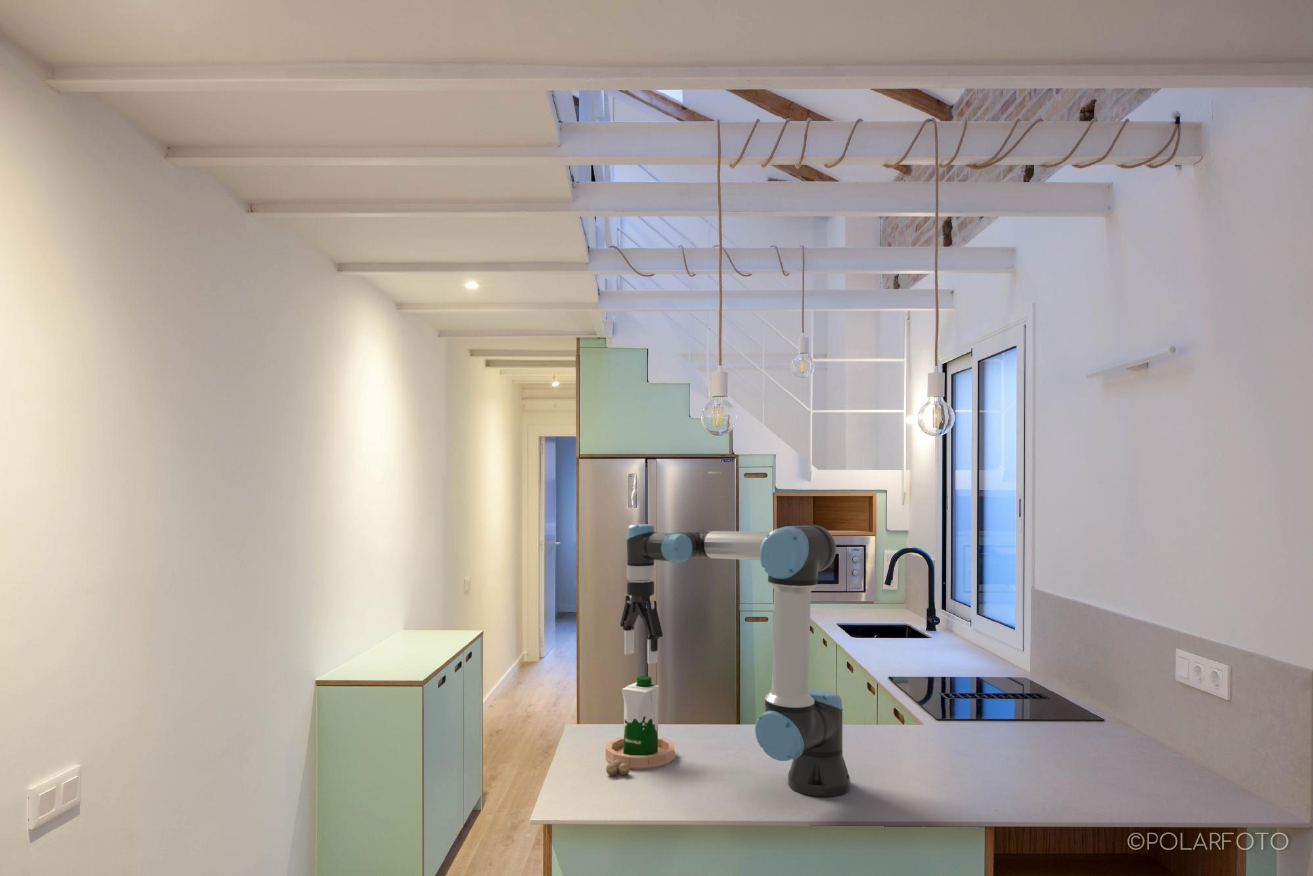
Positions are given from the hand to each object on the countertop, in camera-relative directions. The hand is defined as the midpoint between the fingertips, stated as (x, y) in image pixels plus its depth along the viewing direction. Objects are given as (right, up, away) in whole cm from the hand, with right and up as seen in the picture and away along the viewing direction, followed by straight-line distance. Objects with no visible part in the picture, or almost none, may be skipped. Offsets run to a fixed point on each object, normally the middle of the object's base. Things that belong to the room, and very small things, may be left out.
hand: (640, 658), depth 227 cm
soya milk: (0, -26, -1) cm, 26 cm away
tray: (0, -27, -1) cm, 27 cm away
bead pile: (-6, -26, -14) cm, 30 cm away
